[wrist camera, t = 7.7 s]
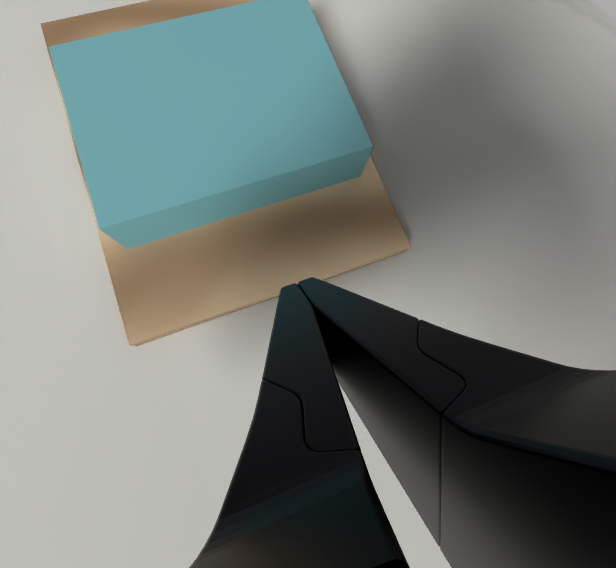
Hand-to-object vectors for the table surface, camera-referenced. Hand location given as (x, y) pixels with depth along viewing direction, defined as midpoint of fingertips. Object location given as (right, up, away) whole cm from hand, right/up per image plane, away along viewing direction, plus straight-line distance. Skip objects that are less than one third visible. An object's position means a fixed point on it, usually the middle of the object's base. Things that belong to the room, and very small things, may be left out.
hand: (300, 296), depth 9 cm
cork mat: (-4, +8, +10) cm, 14 cm away
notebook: (-3, +4, +7) cm, 9 cm away
